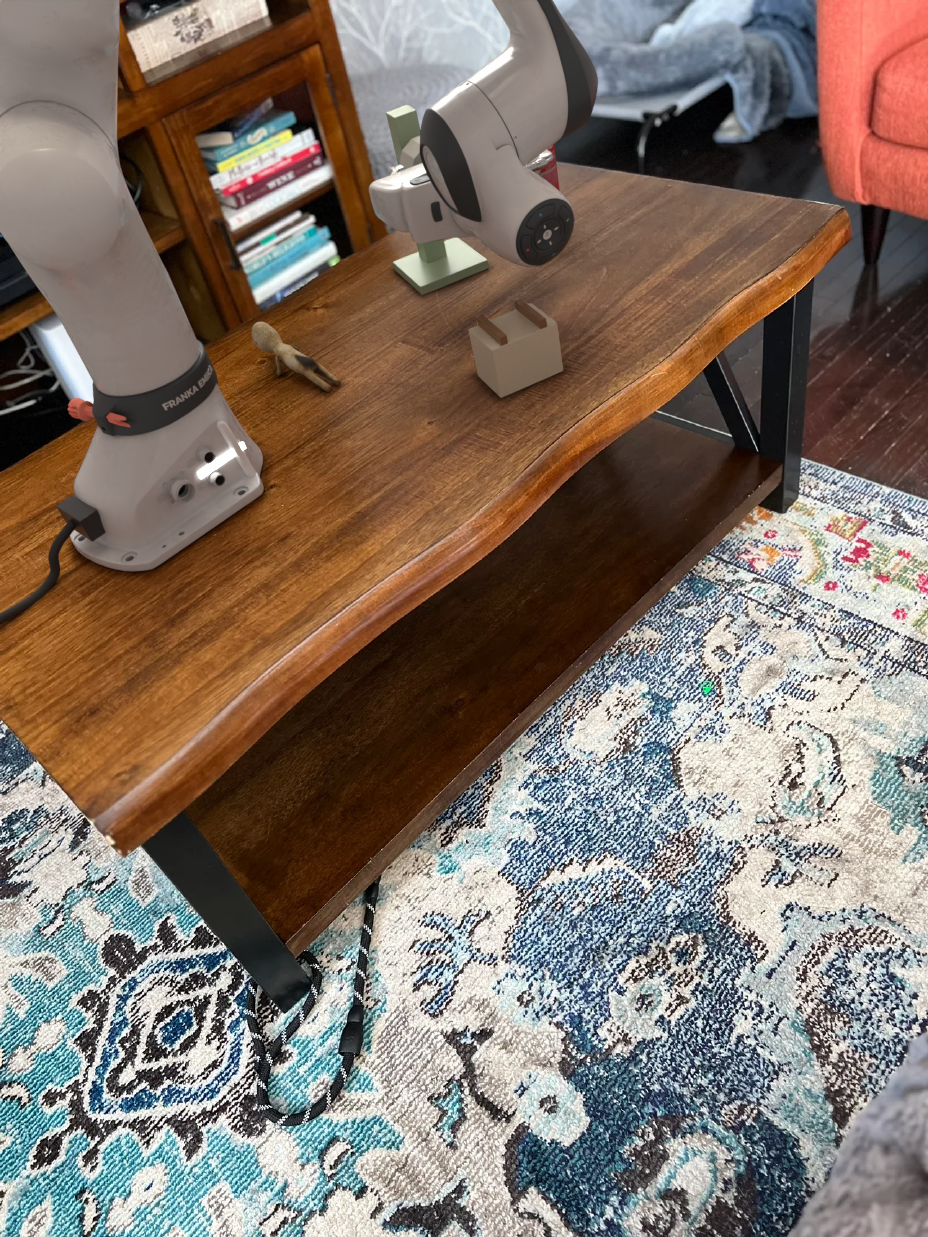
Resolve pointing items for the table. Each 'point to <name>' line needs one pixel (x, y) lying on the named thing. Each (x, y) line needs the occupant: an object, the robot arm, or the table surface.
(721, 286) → the table surface
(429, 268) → the hook stand
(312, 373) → the figurine
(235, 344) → the table surface
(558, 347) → the tape cradle
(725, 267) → the table surface
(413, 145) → the tape
